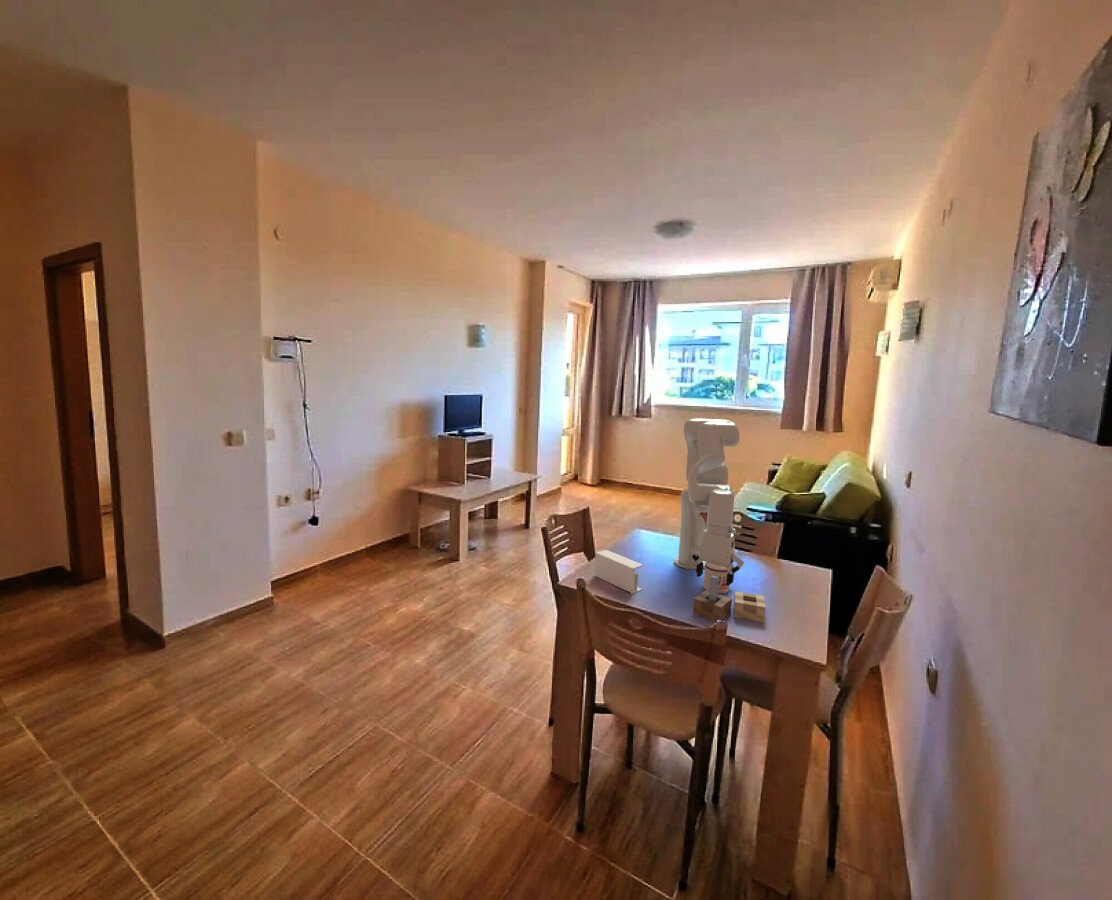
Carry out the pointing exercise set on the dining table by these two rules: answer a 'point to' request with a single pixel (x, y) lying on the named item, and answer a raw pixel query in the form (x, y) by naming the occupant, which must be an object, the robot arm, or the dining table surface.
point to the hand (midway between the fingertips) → (714, 579)
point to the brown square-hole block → (712, 606)
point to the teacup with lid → (718, 572)
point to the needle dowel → (713, 588)
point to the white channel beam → (617, 570)
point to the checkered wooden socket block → (749, 606)
